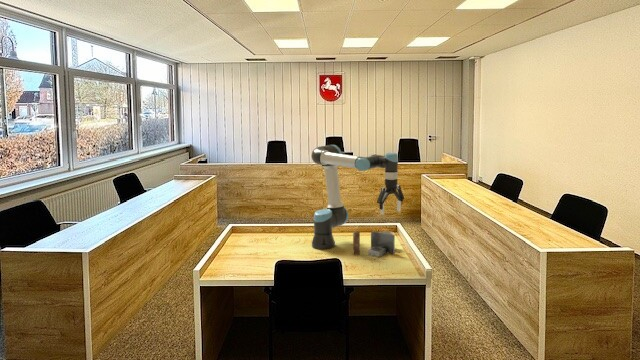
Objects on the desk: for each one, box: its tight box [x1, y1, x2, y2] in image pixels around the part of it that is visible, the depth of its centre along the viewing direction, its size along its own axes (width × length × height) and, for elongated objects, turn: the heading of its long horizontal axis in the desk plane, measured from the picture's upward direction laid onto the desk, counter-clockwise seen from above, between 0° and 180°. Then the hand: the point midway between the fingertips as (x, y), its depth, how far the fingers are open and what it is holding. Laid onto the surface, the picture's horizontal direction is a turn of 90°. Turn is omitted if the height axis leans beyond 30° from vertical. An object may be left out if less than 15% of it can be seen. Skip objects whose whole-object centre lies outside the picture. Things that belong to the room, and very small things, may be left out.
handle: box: [352, 231, 361, 256], centre depth 328 cm, size 4×4×14 cm
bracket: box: [367, 230, 396, 258], centre depth 328 cm, size 16×12×12 cm
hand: (390, 212), depth 324 cm, fingers open, 13 cm apart
